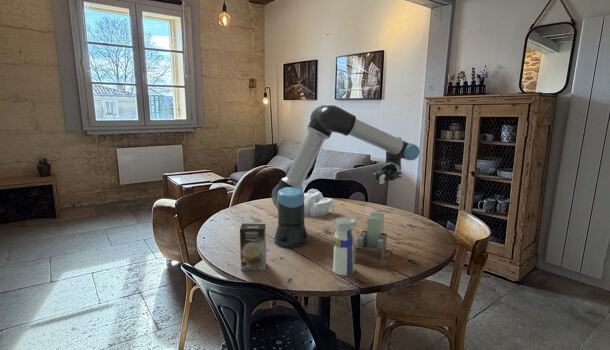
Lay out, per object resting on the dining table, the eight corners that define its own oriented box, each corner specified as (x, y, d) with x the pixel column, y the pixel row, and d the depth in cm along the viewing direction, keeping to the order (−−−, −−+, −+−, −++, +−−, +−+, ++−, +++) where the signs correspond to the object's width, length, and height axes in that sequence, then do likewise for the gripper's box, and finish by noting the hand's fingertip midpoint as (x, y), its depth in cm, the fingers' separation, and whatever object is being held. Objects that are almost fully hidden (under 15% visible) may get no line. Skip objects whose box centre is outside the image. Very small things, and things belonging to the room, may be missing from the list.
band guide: (360, 247, 143) (360, 227, 141) (391, 252, 138) (392, 231, 136) (351, 261, 129) (351, 239, 128) (385, 267, 124) (386, 244, 123)
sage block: (370, 243, 144) (372, 212, 141) (382, 245, 142) (384, 213, 139) (366, 251, 135) (367, 218, 133) (378, 253, 134) (380, 219, 131)
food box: (240, 271, 122) (238, 229, 119) (242, 263, 128) (241, 223, 125) (265, 270, 123) (264, 228, 119) (266, 262, 129) (265, 222, 126)
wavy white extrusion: (271, 210, 198) (271, 192, 196) (288, 203, 211) (287, 187, 209) (322, 220, 179) (322, 201, 177) (337, 212, 192) (337, 194, 190)
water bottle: (343, 278, 116) (344, 209, 112) (327, 269, 123) (327, 203, 119) (359, 271, 121) (361, 205, 117) (343, 263, 128) (345, 200, 123)
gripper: (403, 179, 160) (396, 190, 139) (376, 177, 165) (365, 188, 144) (404, 164, 159) (397, 172, 138) (376, 162, 164) (366, 170, 142)
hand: (381, 180), depth 141 cm, fingers closed
